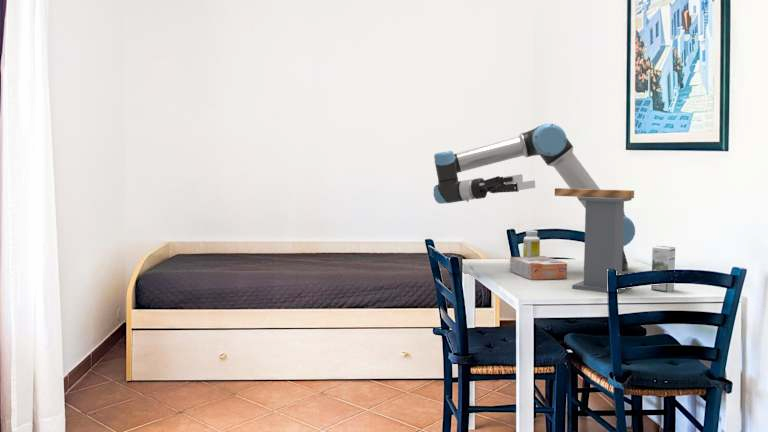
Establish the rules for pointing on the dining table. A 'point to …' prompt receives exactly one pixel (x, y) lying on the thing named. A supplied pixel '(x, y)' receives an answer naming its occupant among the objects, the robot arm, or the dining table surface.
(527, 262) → the cracker box
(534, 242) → the supplement bottle
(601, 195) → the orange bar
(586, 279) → the gray pedestal stand
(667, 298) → the dining table surface
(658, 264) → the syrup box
